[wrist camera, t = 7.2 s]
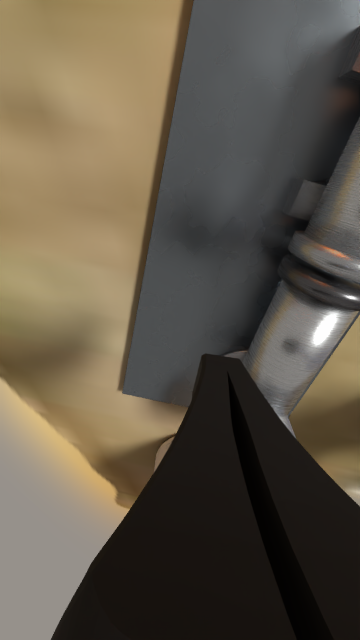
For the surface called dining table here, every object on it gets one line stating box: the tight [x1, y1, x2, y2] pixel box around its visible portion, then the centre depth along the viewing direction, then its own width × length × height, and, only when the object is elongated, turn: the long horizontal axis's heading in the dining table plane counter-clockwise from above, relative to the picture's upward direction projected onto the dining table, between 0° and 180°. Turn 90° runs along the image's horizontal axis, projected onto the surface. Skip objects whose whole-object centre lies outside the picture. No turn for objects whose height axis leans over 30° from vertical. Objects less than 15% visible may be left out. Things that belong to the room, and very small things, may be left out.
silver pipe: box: [242, 255, 360, 438], centre depth 16 cm, size 13×5×5 cm, turn 166°
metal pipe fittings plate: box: [122, 0, 360, 417], centre depth 14 cm, size 25×14×6 cm, turn 166°
